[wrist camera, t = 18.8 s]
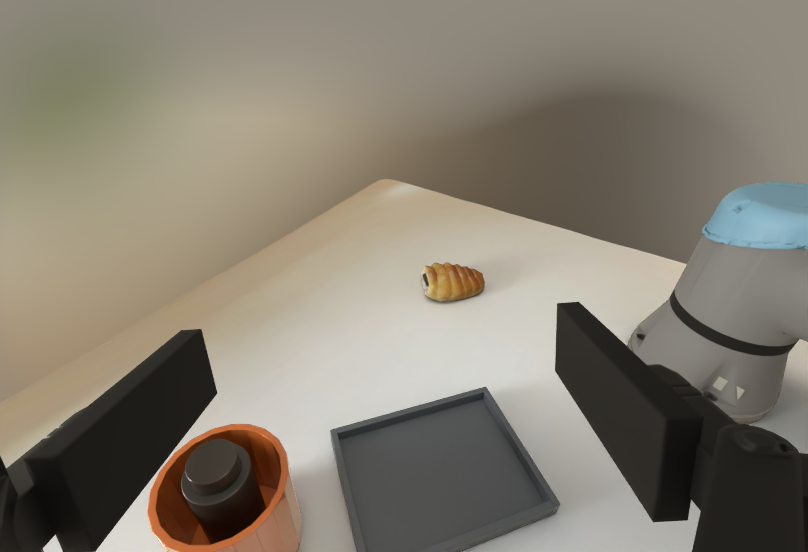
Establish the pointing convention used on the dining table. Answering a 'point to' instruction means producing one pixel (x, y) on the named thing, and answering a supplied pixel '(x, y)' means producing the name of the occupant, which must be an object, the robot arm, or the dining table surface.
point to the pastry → (451, 282)
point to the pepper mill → (222, 489)
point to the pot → (281, 522)
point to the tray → (438, 477)
